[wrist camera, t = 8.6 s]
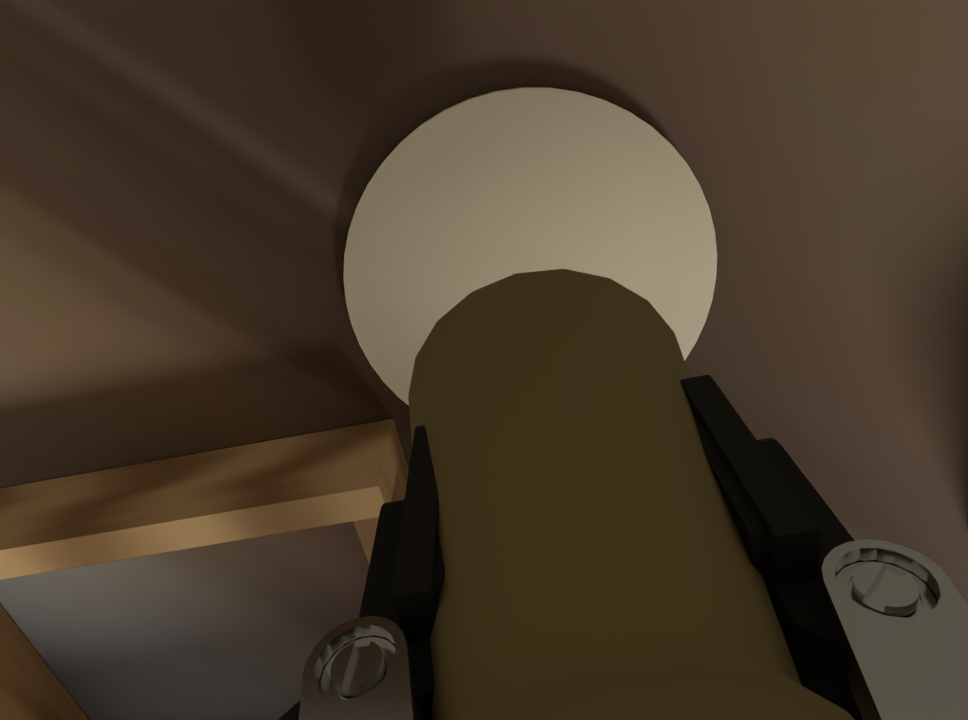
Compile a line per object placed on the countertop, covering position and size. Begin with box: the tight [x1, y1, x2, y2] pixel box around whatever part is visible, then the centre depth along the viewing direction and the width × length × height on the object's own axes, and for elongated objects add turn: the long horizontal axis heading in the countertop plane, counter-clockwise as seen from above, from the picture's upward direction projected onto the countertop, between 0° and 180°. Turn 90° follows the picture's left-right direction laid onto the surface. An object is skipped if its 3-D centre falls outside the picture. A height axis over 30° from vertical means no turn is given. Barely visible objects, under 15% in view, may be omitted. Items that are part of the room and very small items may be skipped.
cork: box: [408, 269, 855, 720], centre depth 9 cm, size 6×6×11 cm
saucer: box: [343, 87, 717, 406], centre depth 20 cm, size 12×12×1 cm
